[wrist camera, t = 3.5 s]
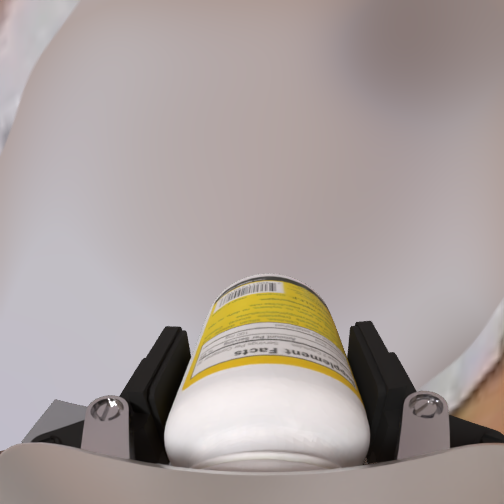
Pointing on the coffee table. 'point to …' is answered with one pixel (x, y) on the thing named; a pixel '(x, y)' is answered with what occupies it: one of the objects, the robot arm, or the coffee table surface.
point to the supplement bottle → (268, 386)
